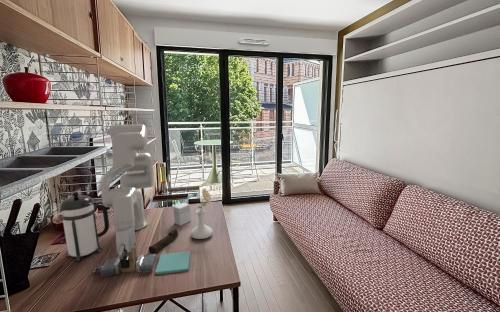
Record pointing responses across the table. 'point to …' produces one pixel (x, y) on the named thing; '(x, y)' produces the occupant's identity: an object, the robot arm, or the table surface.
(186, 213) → the small box
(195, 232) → the flower in vase
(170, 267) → the mat
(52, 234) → the table surface
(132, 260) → the wooden block
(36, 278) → the table surface
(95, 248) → the coffee press
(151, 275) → the table surface
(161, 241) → the brown wooden branch
